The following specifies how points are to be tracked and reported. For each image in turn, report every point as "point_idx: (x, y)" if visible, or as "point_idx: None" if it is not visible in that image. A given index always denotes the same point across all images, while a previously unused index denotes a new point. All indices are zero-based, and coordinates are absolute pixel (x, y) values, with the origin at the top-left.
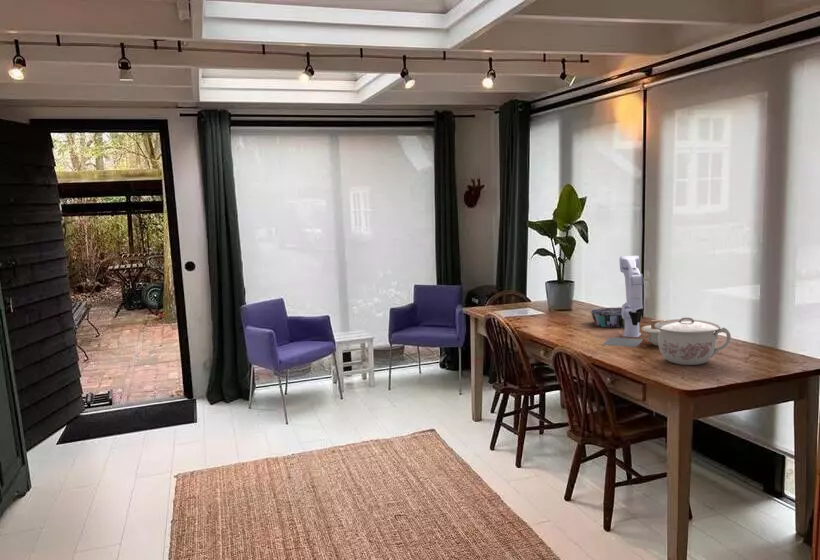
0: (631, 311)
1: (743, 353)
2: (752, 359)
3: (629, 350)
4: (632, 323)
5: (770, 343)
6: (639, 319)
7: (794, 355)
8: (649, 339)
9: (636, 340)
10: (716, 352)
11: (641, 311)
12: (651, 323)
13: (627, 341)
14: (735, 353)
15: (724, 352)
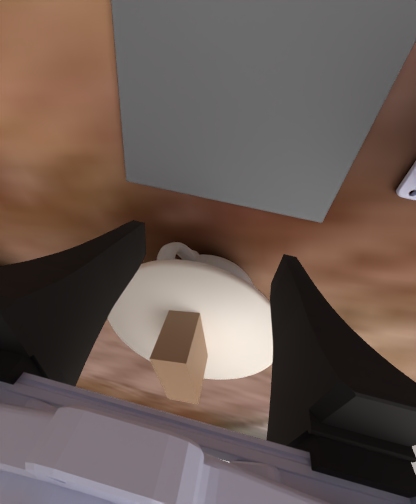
0: (6, 339)
1: (164, 392)
2: (122, 388)
3: (59, 142)
4: (121, 226)
5: (262, 437)
6: (274, 303)
7: None
8: (180, 257)
9: (288, 184)
10: None
11: (274, 413)
12: (157, 340)
13: (256, 123)
14: (159, 385)
15: None
